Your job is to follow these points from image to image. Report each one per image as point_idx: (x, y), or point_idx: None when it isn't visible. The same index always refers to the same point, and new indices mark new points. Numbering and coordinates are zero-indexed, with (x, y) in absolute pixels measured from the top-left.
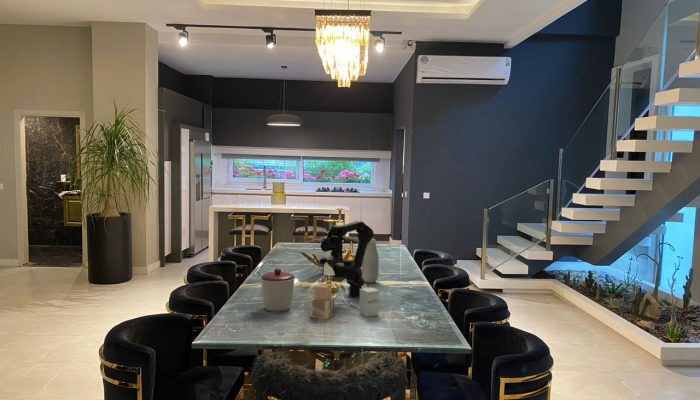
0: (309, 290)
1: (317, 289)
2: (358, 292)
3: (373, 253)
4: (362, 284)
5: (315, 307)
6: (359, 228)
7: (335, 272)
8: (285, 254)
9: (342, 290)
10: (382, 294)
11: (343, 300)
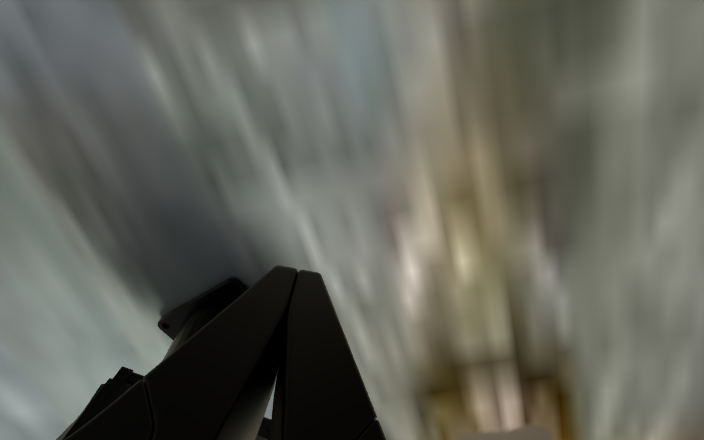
0: (675, 376)
1: None
2: (178, 332)
3: None
4: (89, 403)
5: None
6: None
7: (297, 389)
8: None
9: (379, 415)
10: (44, 381)
11: (280, 157)
